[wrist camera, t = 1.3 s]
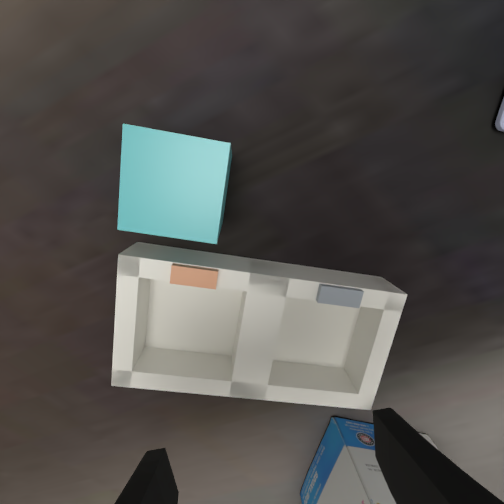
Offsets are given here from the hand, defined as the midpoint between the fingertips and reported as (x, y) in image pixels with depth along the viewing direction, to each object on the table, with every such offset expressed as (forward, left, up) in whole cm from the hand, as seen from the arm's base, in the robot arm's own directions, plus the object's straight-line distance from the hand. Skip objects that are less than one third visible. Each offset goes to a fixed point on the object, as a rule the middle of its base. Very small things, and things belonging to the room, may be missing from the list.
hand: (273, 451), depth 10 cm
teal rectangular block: (+5, -8, -10) cm, 14 cm away
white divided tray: (0, 0, -10) cm, 10 cm away
